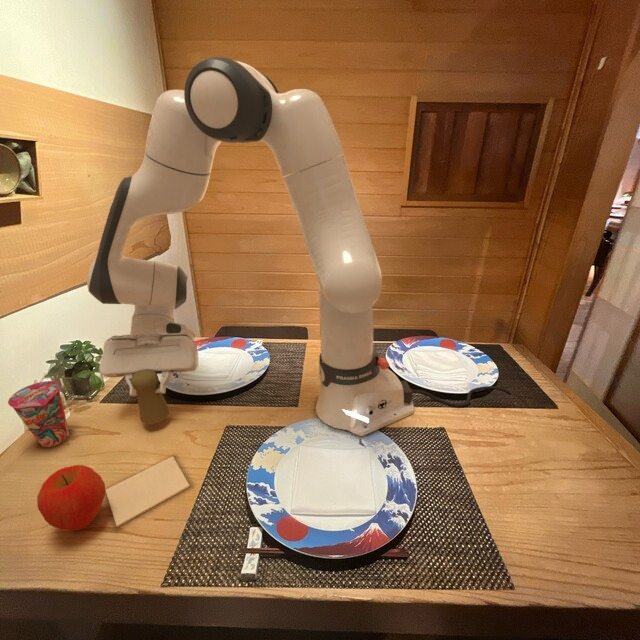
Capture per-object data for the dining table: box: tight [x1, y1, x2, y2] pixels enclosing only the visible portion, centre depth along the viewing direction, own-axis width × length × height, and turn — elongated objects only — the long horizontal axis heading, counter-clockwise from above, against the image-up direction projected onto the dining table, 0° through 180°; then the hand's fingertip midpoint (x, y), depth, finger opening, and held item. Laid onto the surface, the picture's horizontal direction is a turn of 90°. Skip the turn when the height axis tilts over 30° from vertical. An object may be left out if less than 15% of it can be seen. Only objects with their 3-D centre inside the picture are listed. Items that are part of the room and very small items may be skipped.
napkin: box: [105, 456, 191, 528], centre depth 64 cm, size 12×9×1 cm
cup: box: [7, 380, 70, 448], centre depth 74 cm, size 9×8×12 cm
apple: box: [36, 464, 106, 531], centre depth 56 cm, size 9×8×11 cm
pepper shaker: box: [131, 369, 171, 425], centre depth 77 cm, size 6×6×11 cm
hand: (147, 394), depth 76 cm, fingers closed on pepper shaker, 4 cm apart
